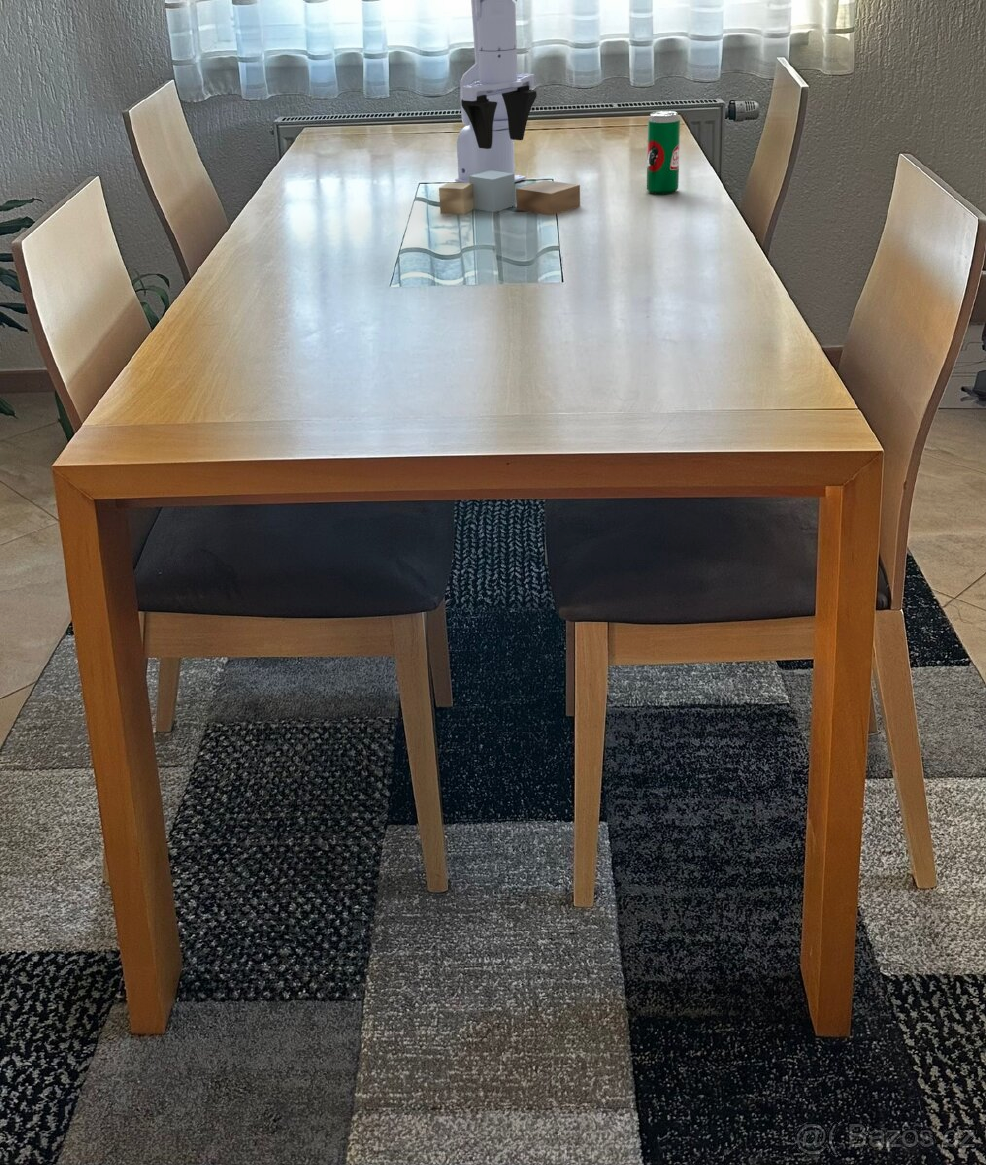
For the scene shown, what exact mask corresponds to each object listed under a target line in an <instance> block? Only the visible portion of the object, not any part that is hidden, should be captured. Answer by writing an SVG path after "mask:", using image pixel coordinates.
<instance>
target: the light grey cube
mask: <svg viewBox="0 0 986 1165" xmlns="http://www.w3.org/2000/svg"><path fill="white" fill-rule="evenodd" d="M469 183H473V200H474V209H473V210H478V211H485V212H491V213H496V212H499V211H502V209H503V210H506V209H509V207H510V208H512V206H513V207H516V187H515V186H516V184H515V183H516V182H515V179H514V174H513V173H506V172H499V171H492V170H490V171H486V172H482V173H478V174H475V175H471V176H469Z"/></svg>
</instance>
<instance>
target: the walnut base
mask: <svg viewBox="0 0 986 1165" xmlns="http://www.w3.org/2000/svg"><path fill="white" fill-rule="evenodd" d="M515 202H516V210H517V211H522V210H523V211H524V212H530V213H537V214H541V215H547V216H548V215H549V216H553V215H556V214H559V213H563V212H567V211H568V210H569V209H570V210H572V208H573V209H575V207H576V208H579V207H581V185H580V184H575V183H568V182H561V181H555V180H554V181H553V180H546V179H544V180H541V181H537V182H535V183H534V182H533V183H530V184H527V185H524V186H520V187H517V188H515ZM570 210H569V211H570ZM562 211H563V212H562Z"/></svg>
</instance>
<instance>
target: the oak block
mask: <svg viewBox="0 0 986 1165" xmlns="http://www.w3.org/2000/svg"><path fill="white" fill-rule="evenodd" d="M438 196H439V197H438V198H439V213H440V214H443V215H462V216H463V215H464V216H465V215H467V213H469V212H471V211H472V210H475V209H474V200H473V183H461V182H452V181H451V182H448V183H445V184H443V185H441V186H439V187H438Z"/></svg>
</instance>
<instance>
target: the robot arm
mask: <svg viewBox="0 0 986 1165" xmlns="http://www.w3.org/2000/svg"><path fill="white" fill-rule="evenodd" d="M515 2H518V0H515V1H513V0H470V3H471V16H472V17H471V18H472V33H473V34H472V35H473V46H474V47H473V49H474V64H473V65H472V66H471V67H470V68H469V69H468V70H467V71H466V72H464V73H463V74H462V76H461V79H460V81H459V82H460V84H459V86H460V87H459V88H460V92H459V93H460V94H459V96H460V100H459V101H460V112H461V113H460V114H461V115H460V117H461V121H462V124H464V125H465V126H464V127H463V128H461V130H460V131H459V133H458V135H457V139H456V155H457V156H456V157H457V158H456V159H457V172H458V176H457V178H455V183H469V176H471V175H475V174H478V173H482V172H486V171H490V170H492V171H499V172H506V173H513V174H514V179H515V183H517V182H520V181H524V180H526V178H527V177H526V175H519V174H516V170H515V169H516V168H515V165H516V164H515V141H523V140H524V136H525V132H526V127H527V122H528V118H529V115H530V112H531V110H532V107H533V104H534V102H535V100H536V99H537V97H538V96H537V90H535V89H532V88H535V74H534V73H520V74H518V48H517V47H518V46H517V17H516V16H517V14H516V12H517V11H516V3H515Z"/></svg>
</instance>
